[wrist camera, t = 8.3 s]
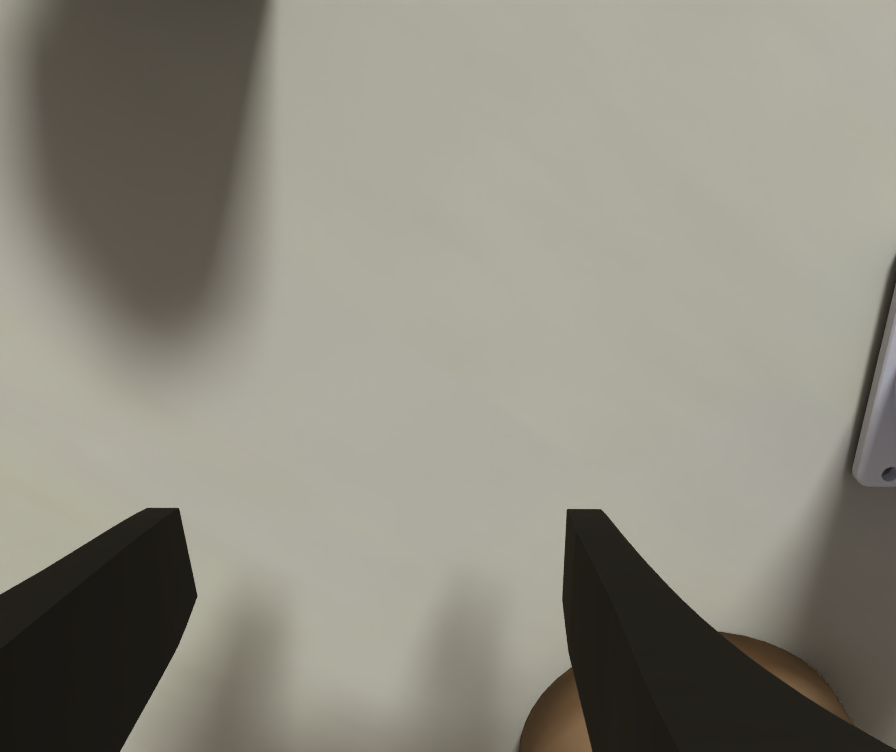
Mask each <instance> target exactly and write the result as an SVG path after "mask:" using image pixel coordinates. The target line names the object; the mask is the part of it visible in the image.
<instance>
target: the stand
mask: <svg viewBox="0 0 896 752" xmlns="http://www.w3.org/2000/svg"><path fill="white" fill-rule="evenodd" d="M719 633H720V634H721V635H722V636H724V637H725V638H726V639H727V640H729V641H730V642H731V643H732V644H734V645H735V646H736V647H737V648H738V649H740V650H741V651H742V652H743V653H745V654H746V655H747V656H749V657H750V658H751V659H753V660H754V661H755V662H757V663H758V664H759V665H761V666H762V667H763V668H765V669H766V670H768V671H769V672H770V673H772V674H773V675H775V676H776V677H778V678H779V679H781V680H782V681H784V682H785V683H787V684H788V685H789V686H791V687H792V688H794V689H795V690H797V691H798V692H800V693H801V694H803V695H804V696H806V697H807V698H809V699H810V700H812V701H814V702H815V703H817V704H818V705H820V706H821V707H823V708H825V709H826V710H828V711H829V712H831V713H833V714H834V715H836V716H838V717H839V718H841V719H843V720H845V721H846V722H848V723H850V724H851V725H853V723H852V721H851V720H850V718H849V717H848V715H847V713H846V712H845V710H844V708H843V707H842V705H841V703H840V702H839V700H838V699H837V697H836V695H835V694H834V692H833V691H832V689H831V688H830V686H829V685H828V683H827V682H826V681H825V680H824V679H823V678H822V677H821V676H820V675H819V674H818V673H817V672H816V671H815V670H814V669H813V668H811V667H810V666H809V665H808V664H806V663H805V662H804V661H802V660H801V659H799V658H798V657H796V656H794V655H792V654H791V653H789V652H787V651H785V650H783V649H781V648H779V647H776V646H774V645H771V644H769V643H767V642H764V641H760V640H757V639H753V638H750V637H746V636H742V635H736V634H730V633H724V632H719ZM853 726H854V725H853ZM519 752H592V748H591V744H590V740H589V736H588V732H587V727H586V723H585V719H584V715H583V711H582V707H581V703H580V698H579V694H578V690H577V686H576V682H575V677H574V673H573V669H572V668H570V669H569V670H568V671H567V672H565V673H564V674H563V675H562V676H560V677H559V678H558V679H557V680H556V681H555V682H554V683H553V684H552V685H551V686H550V687H549V688H548V689H547V690H546V691H545V692H544V693H543V694H542V696H541V697H540V699H539V700H538V701H537V703H536V704H535V706H534V707H533V709H532V711H531V713H530V715H529V717H528V719H527V721H526V723H525V726H524V729H523V733H522V736H521V742H520V751H519Z"/></svg>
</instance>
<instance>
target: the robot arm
mask: <svg viewBox="0 0 896 752" xmlns="http://www.w3.org/2000/svg"><path fill="white" fill-rule="evenodd" d="M890 467H892V468H891V470H890V472H888V473H887V474H885V475H882V473H883V471H884V470H885V469H887V468H890ZM852 475H853V476H854V478H855V479H856V480H857V481H858V482H859V483H860V484H862V485H863V486H867V487H896V285H895V289H894V293H893V298H892V302H891V306H890V310H889V315H888V319H887V323H886V327H885V332H884V336H883V340H882V344H881V349H880V353H879V357H878V361H877V366H876V370H875V374H874V378H873V383H872V387H871V391H870V395H869V400H868V404H867V408H866V412H865V417H864V421H863V425H862V429H861V434H860V438H859V442H858V446H857V451H856V455H855V459H854V463H853V467H852ZM196 599H197V592H196V587H195V582H194V578H193V573H192V568H191V563H190V558H189V554H188V549H187V544H186V539H185V534H184V530H183V525H182V520H181V515H180V511H179V508H146V509H144V510H142V511H140V512H138V513H136V514H135V515H133V516H131V517H129V518H127V519H126V520H124V521H122V522H121V523H119V524H117V525H116V526H114V527H112V528H111V529H109V530H107V531H106V532H104V533H102V534H101V535H99V536H98V537H96V538H94V539H93V540H91V541H90V542H88V543H86V544H85V545H83V546H81V547H80V548H78V549H77V550H75V551H73V552H72V553H70V554H68V555H67V556H65V557H64V558H62V559H60V560H59V561H57V562H55V563H54V564H52V565H51V566H49V567H47V568H46V569H44V570H42V571H41V572H39V573H37V574H35V575H34V576H32V577H30V578H28V579H27V580H25V581H23V582H21V583H20V584H18V585H16V586H14V587H13V588H11V589H9V590H7V591H6V592H4V593H2V594H0V752H120V751H121V749H122V747H123V745H124V743H125V742H126V740H127V738H128V736H129V734H130V733H131V731H132V729H133V727H134V725H135V724H136V722H137V720H138V718H139V716H140V715H141V713H142V711H143V709H144V708H145V706H146V704H147V702H148V700H149V699H150V697H151V695H152V693H153V691H154V690H155V688H156V686H157V684H158V682H159V681H160V679H161V677H162V675H163V673H164V671H165V670H166V668H167V666H168V664H169V662H170V660H171V659H172V657H173V655H174V653H175V651H176V649H177V647H178V645H179V643H180V640H181V638H182V635H183V633H184V630H185V628H186V626H187V623H188V620H189V618H190V615H191V612H192V609H193V607H194V604H195V601H196ZM562 601H563V610H564V619H565V627H566V635H567V643H568V651H569V656H570V660H571V665H572V669H573V673H574V677H575V682H576V686H577V690H578V694H579V698H580V703H581V707H582V711H583V715H584V719H585V723H586V727H587V732H588V736H589V740H590V744H591V748H592V752H896V749H894V748H892V747H890V746H888V745H886V744H884V743H883V742H881V741H879V740H877V739H875V738H874V737H872V736H870V735H869V734H867V733H865V732H863V731H862V730H860V729H858V728H857V727H855V726H853V725H851V724H850V723H848V722H846V721H845V720H843V719H841V718H839V717H838V716H836V715H834V714H833V713H831V712H829V711H828V710H826V709H825V708H823V707H821V706H820V705H818V704H817V703H815V702H814V701H812V700H810V699H809V698H807V697H806V696H804V695H803V694H801V693H800V692H798V691H797V690H795V689H794V688H792V687H791V686H789V685H788V684H787V683H785V682H784V681H782V680H781V679H779V678H778V677H776V676H775V675H773V674H772V673H770V672H769V671H768V670H766V669H765V668H763V667H762V666H761V665H759V664H758V663H757V662H755V661H754V660H753V659H751V658H750V657H749V656H747V655H746V654H745V653H743V652H742V651H741V650H740V649H738V648H737V647H736V646H735V645H734V644H732V643H731V642H730V641H729V640H727V639H726V638H725V637H724V636H722V635H721V634H720V633H719V632H717V631H716V630H715V629H714V628H713V627H711V626H710V625H709V624H708V623H707V622H706V621H704V620H703V619H702V618H701V617H700V616H699V615H698V614H697V613H696V612H695V611H694V610H693V609H691V608H690V607H689V606H688V605H687V604H686V603H685V602H684V601H683V600H682V599H681V598H680V597H679V596H678V595H677V594H676V593H675V592H674V591H673V590H672V589H671V588H670V587H669V586H668V585H667V584H666V583H665V582H664V581H663V580H662V578H661V577H660V576H659V575H658V574H657V573H656V572H655V571H654V570H653V569H652V568H651V567H650V566H649V565H648V564H647V562H646V561H645V560H644V559H643V558H642V557H641V556H640V555H639V553H638V552H637V551H636V550H635V549H634V548H633V546H632V545H631V544H630V543H629V542H628V541H627V539H626V538H625V537H624V536H623V535H622V533H621V532H620V531H619V530H618V528H617V527H616V526H615V525H614V524H613V522H612V521H611V520H610V519H609V517H608V516H607V515H606V514H605V513H604V512H603V511H602V510H601V509H567V518H566V538H565V557H564V577H563V597H562Z"/></svg>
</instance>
